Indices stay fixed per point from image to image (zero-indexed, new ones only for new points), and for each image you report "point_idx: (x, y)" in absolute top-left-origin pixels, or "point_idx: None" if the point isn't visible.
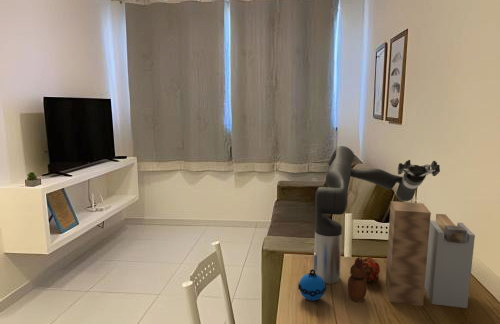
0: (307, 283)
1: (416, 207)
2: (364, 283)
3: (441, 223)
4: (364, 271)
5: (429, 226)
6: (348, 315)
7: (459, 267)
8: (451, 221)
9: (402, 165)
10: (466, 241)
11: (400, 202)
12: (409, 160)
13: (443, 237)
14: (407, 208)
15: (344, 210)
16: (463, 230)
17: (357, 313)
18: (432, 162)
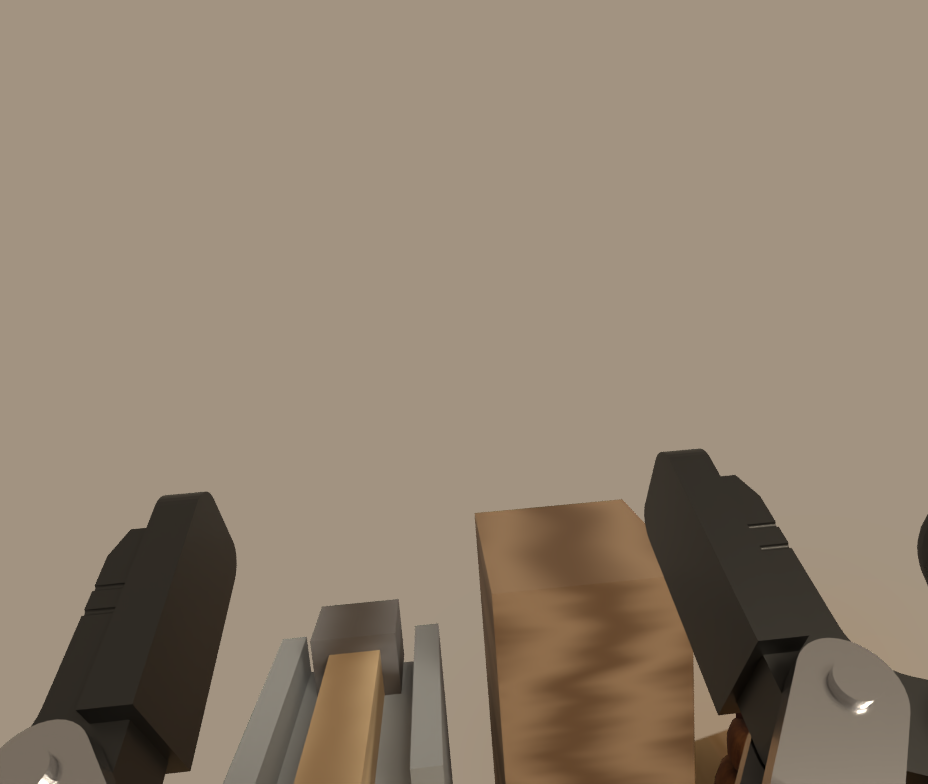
0: None
1: (533, 539)
2: (720, 765)
3: (367, 771)
4: (727, 733)
5: (479, 572)
6: (725, 749)
7: None
8: (304, 754)
9: (910, 694)
10: (311, 682)
11: (629, 571)
12: (672, 454)
13: (403, 692)
14: (575, 523)
15: (925, 579)
16: (336, 605)
17: (706, 767)
18: (182, 569)
